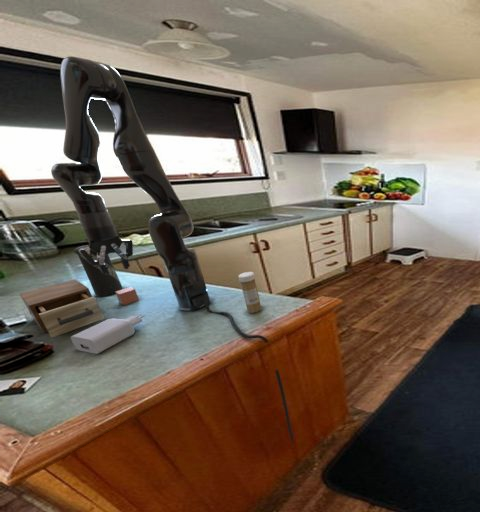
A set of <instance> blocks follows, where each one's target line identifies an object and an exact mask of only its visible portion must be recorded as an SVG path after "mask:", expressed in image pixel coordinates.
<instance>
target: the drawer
mask: <svg viewBox="0 0 480 512" xmlns="http://www.w3.org/2000/svg"><path fill="white" fill-rule="evenodd" d="M36 307H37V309H38V311H39V316H40V318H41V319H42V321H43V323H44V325H45V327H46V328H47V330H48V332H47V333H48V334H49V335H50V338H56V337H58V336H60V335H63V334H67V333H68V332H72V331H74V330H77V329H80V328H83V327H85V326H88V325H90V324H94V323H96V322H99V321H101V320H104V319H105V316H104V314H103V311H102V309H101V307H100V305H99V303H98V300H97V299H96V296H92V297H91V298H90V297H88V296H87V295H86V294H84V293H79V294H76V295H73V296H69V297H66V298H63V299H59V300H56V301H53V302H49V303H46V304H43V305H39V306H36Z"/></svg>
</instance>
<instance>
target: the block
mask: <svg viewBox="0 0 480 512" xmlns="http://www.w3.org/2000/svg"><path fill="white" fill-rule="evenodd" d="M114 294H115V295H116V298H117V299H118V302H119V303H120V304H121V305H123V306H127V305H129V304H132V303H135V302H138V301H139V300H140V298H139V295H138V293H137V291H136V289H135V288H133V287H132V286H128V287H125V288H123V289H122V290H119V291H116V292H115V293H114Z"/></svg>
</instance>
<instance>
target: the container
mask: <svg viewBox="0 0 480 512" xmlns="http://www.w3.org/2000/svg"><path fill="white" fill-rule="evenodd" d="M88 245H89V244H86V245H81V246H78V247H76V248H74V249H73V252H74V254H76V255H77V256H78V259H79V261H80V263H81V265H82V267H83V269H84V272H85V275H86V276H87V278H88V281H89V284H90V285H91V288H92V290H93V292H94V295H95V297H105V296H106V297H107V296H110V295H114V294H116V293H115V292H116V291H119V290H122V289H124V287H123V285H122V283H121V281H120V279H119V276H118V274H117V272H116V269H115V267H114V264H113V262H112V260H111V258H110V256H109V254H107V255H105V259H104V264H105V265H106V267H107V269H108V272H109V274H107V275H106V274H104V273H102V272H101V270H100V268H99V265H92V264H90V263H89V262H88V261H87V260H86V259H85V258H84V257H83V256H82V255H81V254H80V253H79V251H78V250H79V249H83V248H86V247H88ZM89 255H90V256H91V258H92V259H93V260H94V261H97V252H95V251H94V250H92V249H90V254H89Z"/></svg>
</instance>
